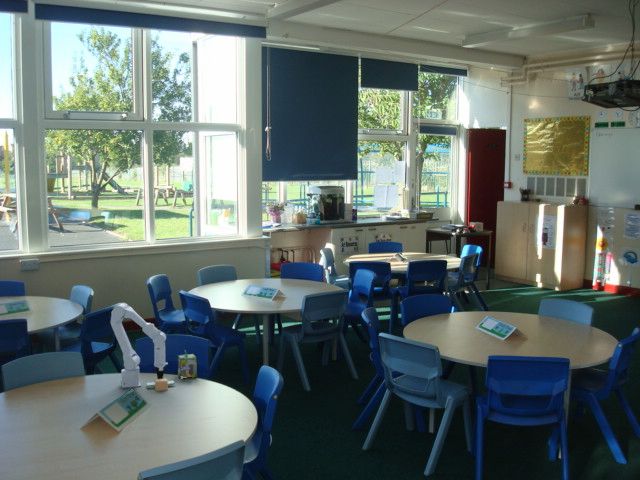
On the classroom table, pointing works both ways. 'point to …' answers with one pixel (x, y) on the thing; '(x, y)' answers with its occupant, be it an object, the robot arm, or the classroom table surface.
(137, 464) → the classroom table surface
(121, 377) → the robot arm
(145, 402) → the classroom table surface
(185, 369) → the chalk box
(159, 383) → the stub
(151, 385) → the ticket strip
